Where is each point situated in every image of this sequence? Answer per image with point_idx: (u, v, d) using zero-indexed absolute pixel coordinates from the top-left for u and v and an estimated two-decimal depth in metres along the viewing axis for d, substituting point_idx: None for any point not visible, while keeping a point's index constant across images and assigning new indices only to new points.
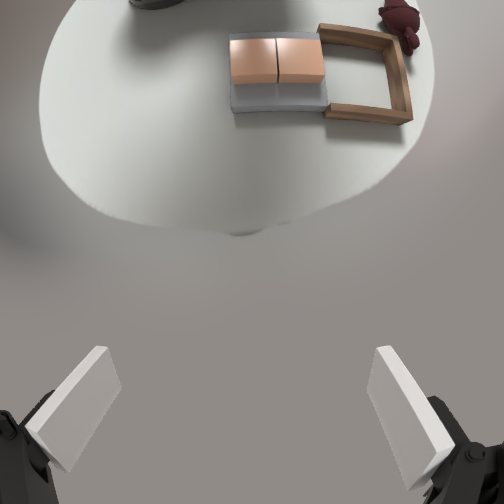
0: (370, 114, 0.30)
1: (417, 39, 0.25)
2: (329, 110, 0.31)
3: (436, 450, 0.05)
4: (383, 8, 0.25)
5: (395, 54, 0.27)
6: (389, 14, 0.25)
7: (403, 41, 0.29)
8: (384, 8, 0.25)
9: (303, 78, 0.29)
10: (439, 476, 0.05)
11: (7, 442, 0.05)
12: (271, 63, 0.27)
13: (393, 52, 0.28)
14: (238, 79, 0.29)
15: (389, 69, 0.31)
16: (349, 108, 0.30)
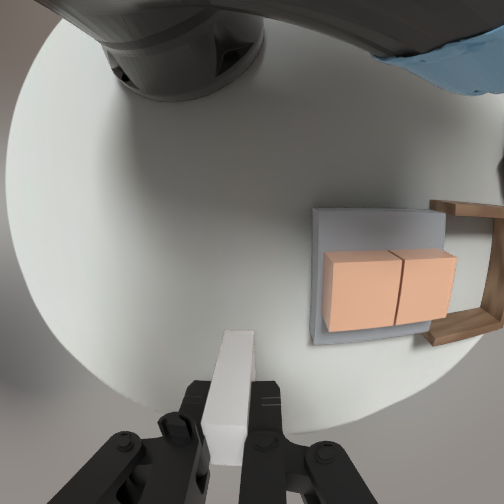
0: None
1: None
2: (429, 340, 0.23)
3: (223, 423, 0.08)
4: None
5: None
6: None
7: None
8: None
9: None
10: None
11: (173, 448, 0.07)
12: (388, 309, 0.19)
13: None
14: None
15: (497, 248, 0.23)
16: (452, 338, 0.22)
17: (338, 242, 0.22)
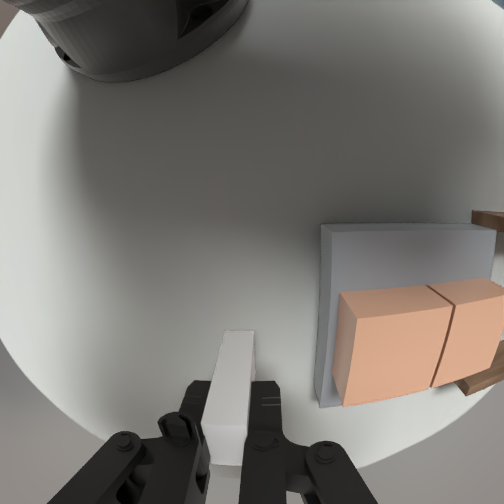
0: None
1: None
2: (461, 388, 0.15)
3: (223, 423, 0.08)
4: None
5: None
6: None
7: None
8: None
9: None
10: None
11: (173, 448, 0.07)
12: (426, 371, 0.12)
13: None
14: None
15: None
16: (487, 383, 0.14)
17: (360, 277, 0.14)
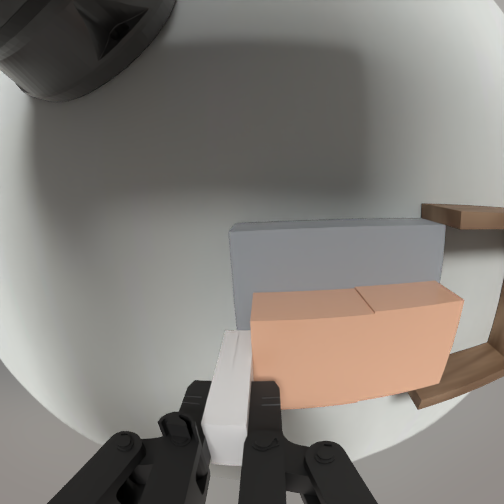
0: None
1: None
2: (414, 400, 0.16)
3: (223, 423, 0.08)
4: None
5: None
6: None
7: None
8: None
9: None
10: None
11: (173, 448, 0.07)
12: (349, 383, 0.12)
13: None
14: None
15: None
16: (445, 396, 0.15)
17: (264, 278, 0.14)
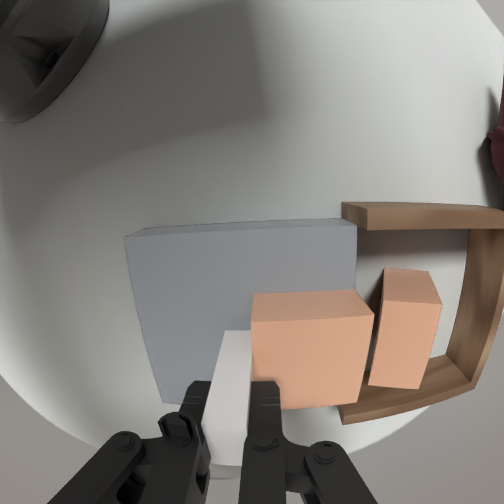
0: None
1: None
2: (340, 414, 0.16)
3: (223, 423, 0.08)
4: None
5: (501, 265, 0.12)
6: None
7: None
8: None
9: None
10: None
11: (173, 448, 0.07)
12: (349, 383, 0.12)
13: (498, 257, 0.13)
14: None
15: (474, 273, 0.16)
16: (377, 414, 0.15)
17: (156, 280, 0.15)
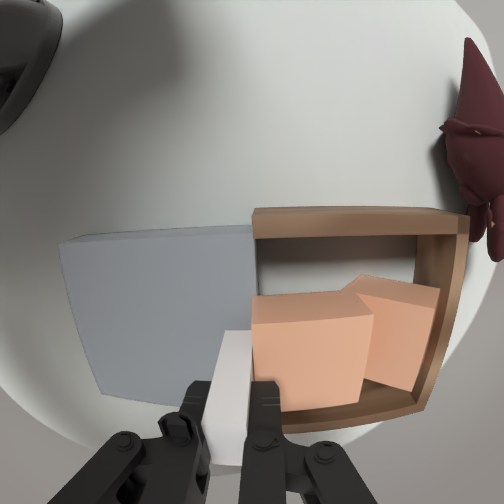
0: None
1: None
2: None
3: (223, 423, 0.08)
4: (459, 126, 0.11)
5: (448, 276, 0.13)
6: (471, 151, 0.11)
7: (473, 209, 0.14)
8: (462, 127, 0.11)
9: None
10: None
11: (173, 448, 0.07)
12: (350, 383, 0.12)
13: (446, 267, 0.13)
14: None
15: (421, 284, 0.16)
16: (299, 428, 0.15)
17: (82, 282, 0.15)
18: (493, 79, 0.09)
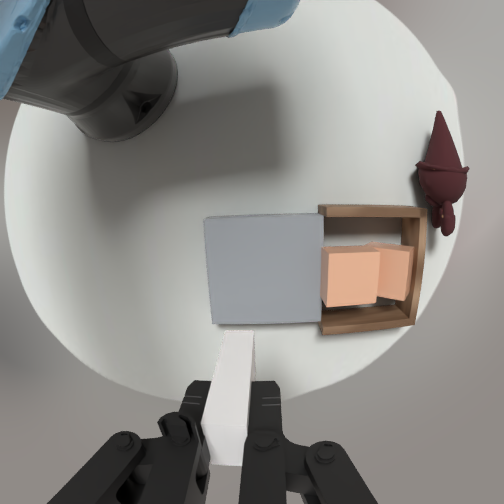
0: None
1: (453, 225, 0.25)
2: (321, 329, 0.30)
3: (224, 422, 0.08)
4: (424, 165, 0.25)
5: (417, 239, 0.27)
6: (429, 179, 0.25)
7: (435, 209, 0.29)
8: (426, 166, 0.25)
9: None
10: None
11: (173, 448, 0.07)
12: (371, 289, 0.26)
13: (416, 235, 0.27)
14: None
15: None
16: (344, 329, 0.29)
17: (220, 242, 0.29)
18: (448, 137, 0.23)
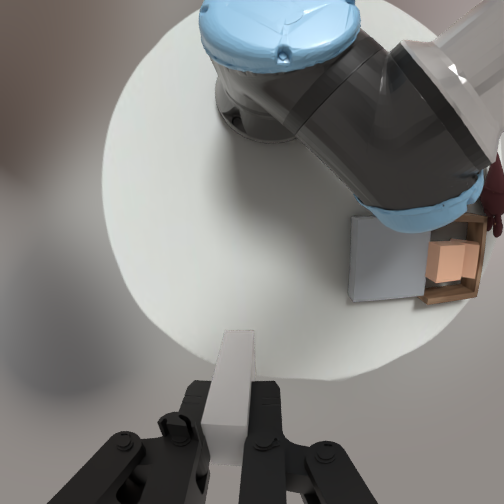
0: None
1: (501, 230, 0.32)
2: (424, 301, 0.37)
3: (223, 423, 0.08)
4: (487, 189, 0.32)
5: (481, 237, 0.34)
6: (489, 198, 0.32)
7: (487, 218, 0.35)
8: (488, 190, 0.32)
9: None
10: None
11: (173, 448, 0.07)
12: (459, 270, 0.33)
13: (479, 234, 0.34)
14: None
15: None
16: (439, 300, 0.36)
17: (368, 237, 0.36)
18: (501, 170, 0.30)
